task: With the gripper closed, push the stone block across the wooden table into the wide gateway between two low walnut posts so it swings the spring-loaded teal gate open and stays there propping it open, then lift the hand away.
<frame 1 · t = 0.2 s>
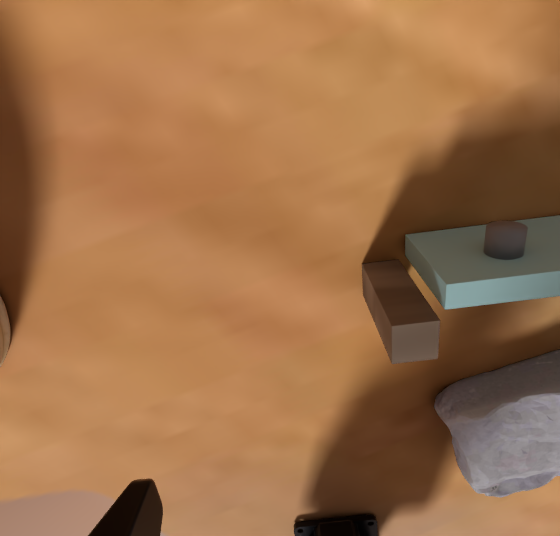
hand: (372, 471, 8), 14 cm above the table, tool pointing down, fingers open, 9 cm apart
stone block: (525, 406, 28), on the table
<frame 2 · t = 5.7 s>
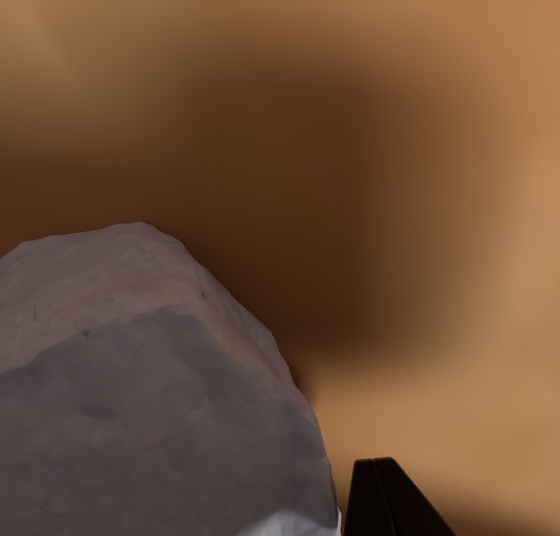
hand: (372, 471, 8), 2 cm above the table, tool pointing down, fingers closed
stone block: (143, 441, 11), on the table
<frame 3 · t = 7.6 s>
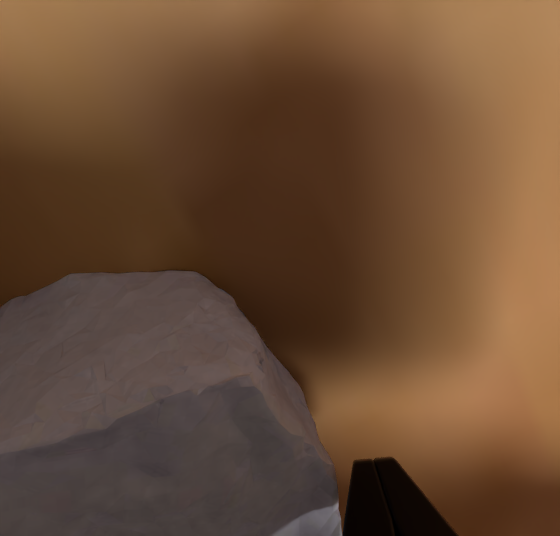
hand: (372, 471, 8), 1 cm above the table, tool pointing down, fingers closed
stone block: (149, 466, 11), on the table
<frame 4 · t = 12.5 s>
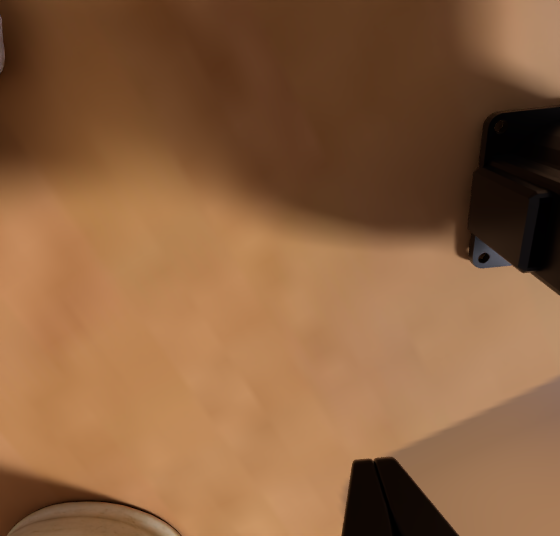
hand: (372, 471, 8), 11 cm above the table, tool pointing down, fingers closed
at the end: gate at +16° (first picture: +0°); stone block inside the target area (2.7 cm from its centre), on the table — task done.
